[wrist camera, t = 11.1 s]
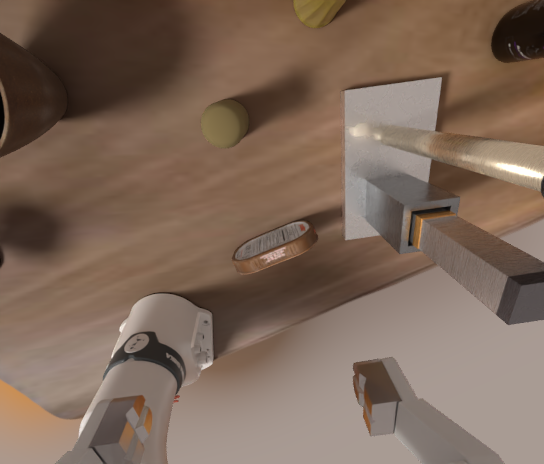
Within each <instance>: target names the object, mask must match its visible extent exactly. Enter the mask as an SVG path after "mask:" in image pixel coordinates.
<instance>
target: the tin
mask: <svg viewBox="0 0 544 464" xmlns="http://www.w3.org/2000/svg"><path fill="white" fill-rule="evenodd" d="M317 240H318V235H317V234H316V232H315V229H314V227H313V225H312V224H311V223H310V222H308V221H296V222H292V223H289V224H287V225H284V226H282V227H279V228H277V229H274V230H272V231H269V232H267V233H265V234H262V235H260V236H257V237H255V238H253V239H251V240H249V241H247V242H245V243H244V244H242V245H241V246H239V247H238V248H237V249H236V250H235V252H234V254H233V256H232V262H233V264H234V265H235V267H236V270H237V272H238V273H240V274H252V273H255V272H258V271H261V270H263V269H266V268H268V267H271V266H273V265H276V264H278V263H281V262H283V261H286V260H288V259H291V258H293V257H296V256H298V255H301V254H303V253H305V252H306V251H308V250H309V249H310V248H312V247H313V246H314V245H315V244H316V242H317Z"/></svg>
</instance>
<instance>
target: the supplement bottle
mask: <svg viewBox="0 0 544 464" xmlns="http://www.w3.org/2000/svg"><path fill="white" fill-rule="evenodd" d="M491 47H492V52H493V54H494V56H495V57H496V59H498V60H499V61H501V62H504V63H511V62H519V61H526V60H532V59H539V58H544V0H532V1H530V2H527V3H524V4H521V5H519V6H517V7H515V8H513V9H511V10H510V11H509V12H507V13H506V14H505V15H504V16H503V18H502V19H501V20H500V21H499V23H498V25H497V26H496V28H495V30H494V33H493V36H492V43H491Z"/></svg>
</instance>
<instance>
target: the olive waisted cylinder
mask: <svg viewBox="0 0 544 464" xmlns="http://www.w3.org/2000/svg"><path fill="white" fill-rule="evenodd" d="M248 127H249V117H248V114H247V111H246V110H245V108H244V107H243V106H242V105H241V104H240V103H239V102H237V101H234V100H232V99H224V100H221V101H219V102H216V103H213V104H211V105H210V106H208V107H207V108H206V109H205V111H204V113H203V114H202V119H201V129H202V132H203V134H204V136H205V138H206V139H207V140H208V142H210V143H211V144H212V145H214V146H216V147H219V148H230V147H233V146H235V145H236V144H238V143H239V142H240V140H241V139H242V138H243V137H244V136H245V134H246V133H247V131H248Z"/></svg>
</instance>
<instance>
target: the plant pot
mask: <svg viewBox="0 0 544 464" xmlns="http://www.w3.org/2000/svg"><path fill="white" fill-rule="evenodd" d="M67 106H68V97H67V92H66V90H65V87H64V85H63V83H62V82H61V80H60V79H59V78H58V77H57V75H56V74H55V73H54V72H52V71H51V70H50V69H49V68H48V67H47V66H46V65H45V64H43V63H42V62H41V61H40V60H38V59H37V58H36V57H35V56H33V55H32V54H31V53H29V52H28V51H26V50H25V49H24V48H22V47H21V46H19V45H18V44H16V43H15V42H13V41H12V40H10V39H9V38H7V37H6V36H4V35H3V34H1V33H0V157H2V156H5V155H7V154H9V153H11V152H13V151H16V150H18V149H20V148H21V147H23V146H25V145H27V144H29V143H30V142H32V141H34V140H35V139H37V138H38V137H40V136H41V135H43V134H44V133H46V132H47V131H48V130H49V129H50V128H52V127H53V126H54V125H55V124H56V123H57V122H58V121H59V120H60V119H61V117H62V116H63V115H64V114H65V112H66V110H67Z"/></svg>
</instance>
